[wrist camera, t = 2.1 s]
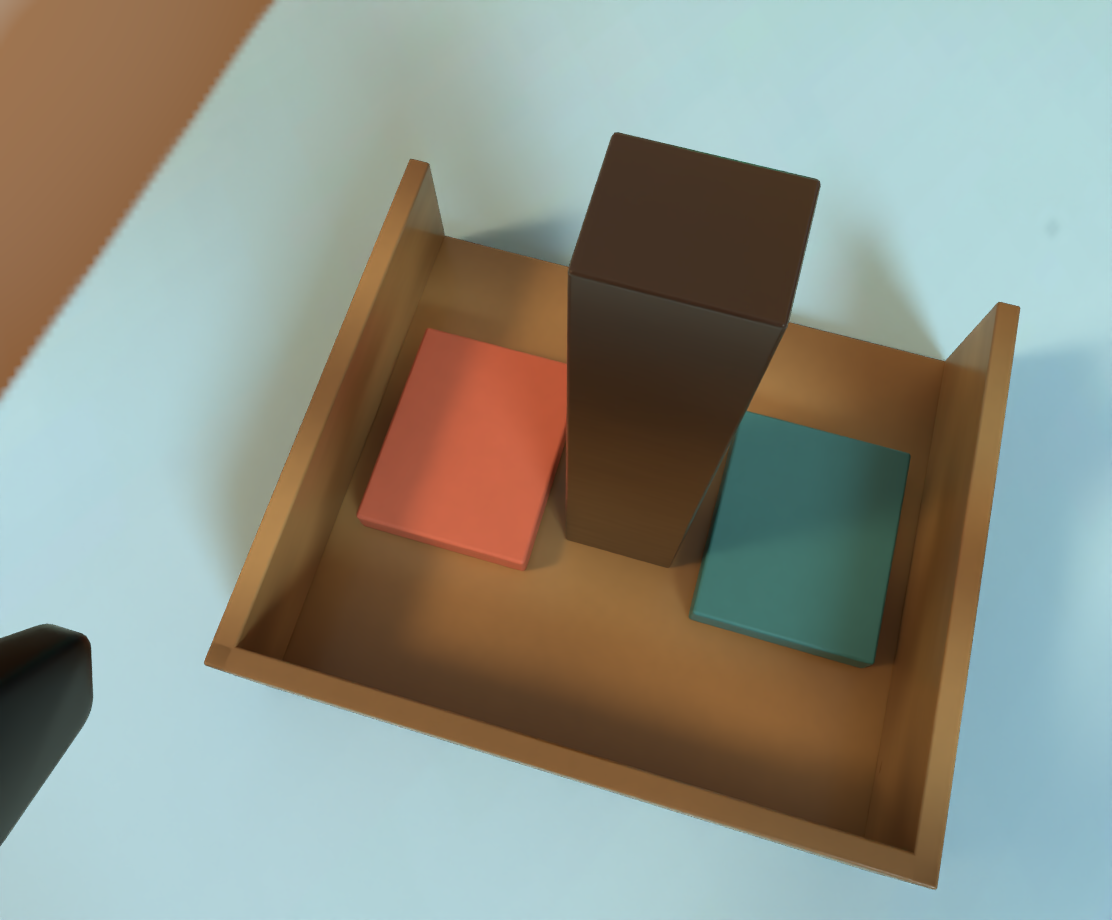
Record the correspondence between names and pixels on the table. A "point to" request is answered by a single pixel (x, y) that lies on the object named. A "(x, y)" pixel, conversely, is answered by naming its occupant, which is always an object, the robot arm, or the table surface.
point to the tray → (641, 521)
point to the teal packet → (802, 539)
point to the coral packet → (470, 450)
